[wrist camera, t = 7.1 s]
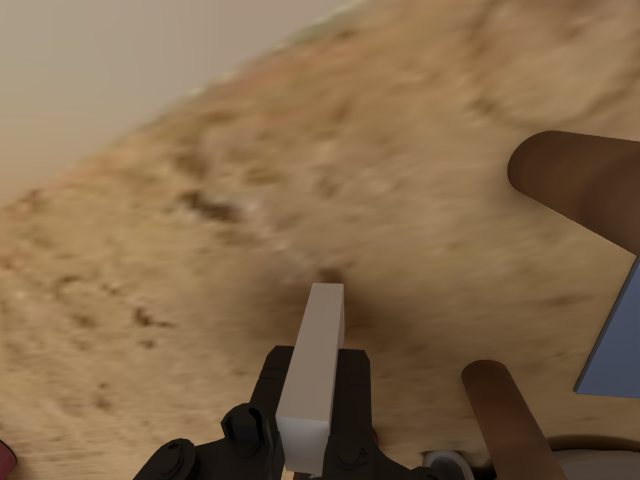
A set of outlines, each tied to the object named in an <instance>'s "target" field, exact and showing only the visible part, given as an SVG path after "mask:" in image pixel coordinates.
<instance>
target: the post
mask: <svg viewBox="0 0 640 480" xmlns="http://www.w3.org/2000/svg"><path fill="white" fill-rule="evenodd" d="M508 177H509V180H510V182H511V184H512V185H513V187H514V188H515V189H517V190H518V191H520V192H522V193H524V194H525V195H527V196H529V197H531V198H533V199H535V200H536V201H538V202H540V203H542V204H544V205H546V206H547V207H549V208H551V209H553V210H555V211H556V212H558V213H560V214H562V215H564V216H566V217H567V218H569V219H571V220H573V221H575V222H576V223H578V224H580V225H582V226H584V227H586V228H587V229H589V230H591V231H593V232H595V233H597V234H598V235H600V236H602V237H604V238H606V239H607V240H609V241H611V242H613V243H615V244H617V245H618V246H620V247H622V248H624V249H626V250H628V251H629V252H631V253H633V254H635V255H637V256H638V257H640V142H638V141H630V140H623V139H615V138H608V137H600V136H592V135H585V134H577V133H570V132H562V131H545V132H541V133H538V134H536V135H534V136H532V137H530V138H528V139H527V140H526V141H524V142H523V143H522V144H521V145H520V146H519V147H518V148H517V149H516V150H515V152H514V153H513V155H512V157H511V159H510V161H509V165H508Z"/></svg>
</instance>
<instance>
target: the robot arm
mask: <svg viewBox="0 0 640 480" xmlns="http://www.w3.org/2000/svg"><path fill="white" fill-rule="evenodd" d="M344 332H345V315H344V284H335V283H313V284H312V288H311V291H310V295H309V298H308V302H307V305H306V309H305V313H304V316H303V320H302V323H301V327H300V330H299V334H298V337H297V341H296V345H295V347H293V346H277V345H276V346H275V347H274V348H273V350H272V351H271V352H270V353H269V354H268V355H267V357H266V360H265V363H264V365H263V369H262V371H261V373H260V376H259V379H258V381H257V384H256V386H255V389H254V391H253V394H252V397H251V399H250V402H249V403H243V404H240V405H238V406H236V407H234V408H233V409H232V410H230V411H229V412H228V413H227V414H226V415H225V417H224V418H223V420H222V421H221V426H222V429H223V432H224V435H225V438H223V439H220V440H218V441H214V442H210V443H206V444H202V445H198V446H194V444H193V443H192V442H191V441H189V440H188V439H182V438H179V439H175V440H171V441H170V442H168V443H166V444H165V445H163V446H161V447H160V448H159V449H158V450H157V451H156V452H155V453H154V454H153V455H152V456H151V458H150V459H149V460H148V461H147V463H146V464H145V465H144V466H143V467H142V469H141V470H140V471H139V472H138V474H137V475H136V476H135V477H134V478H133V480H281V476H282V472H283V467H284V463H285V467H286V470H287V471H294V472H302V473H310V474H317V475H322V478H321V480H448V479H447V478H446V477H444V476H443V475H442V474H441V473H440V472H438V471H436V470H434V469H432V468H430V467H421V466H419V467H416V468H414V469H412V470H410V469H408V468H406V467H404V466H402V465H400V464H398V463H396V462H394V461H392V460H391V459H389V458H388V457H386V456H385V455H384V454H383V453H382V452H381V451H380V449H379V448H378V446H377V445H376V443H375V440H374V438H373V433H372V415H371V380H370V361H369V359H368V357H367V355H366V353H365V351H364V350H353V349H343V344H344Z"/></svg>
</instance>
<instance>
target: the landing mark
mask: <svg viewBox="0 0 640 480" xmlns="http://www.w3.org/2000/svg"><path fill="white" fill-rule="evenodd" d="M574 392H575V393H576V394H589V395H602V396H615V397H628V398H640V257H637V259H636V262H635V264H634V266H633V268H632V270H631V272H630V274H629V276H628V278H627V280H626V282H625V284H624V287H623V289H622V291H621V293H620V295H619V297H618V299H617V301H616V303H615V305H614V307H613V309H612V312H611V314H610V316H609V318H608V320H607V322H606V324H605V326H604V328H603V330H602V332H601V334H600V337H599V339H598V341H597V343H596V345H595V347H594V349H593V351H592V353H591V355H590V357H589V359H588V362H587V364H586V366H585V368H584V370H583V372H582V374H581V376H580V378H579V380H578V382H577V384H576V387H575V389H574Z"/></svg>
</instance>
